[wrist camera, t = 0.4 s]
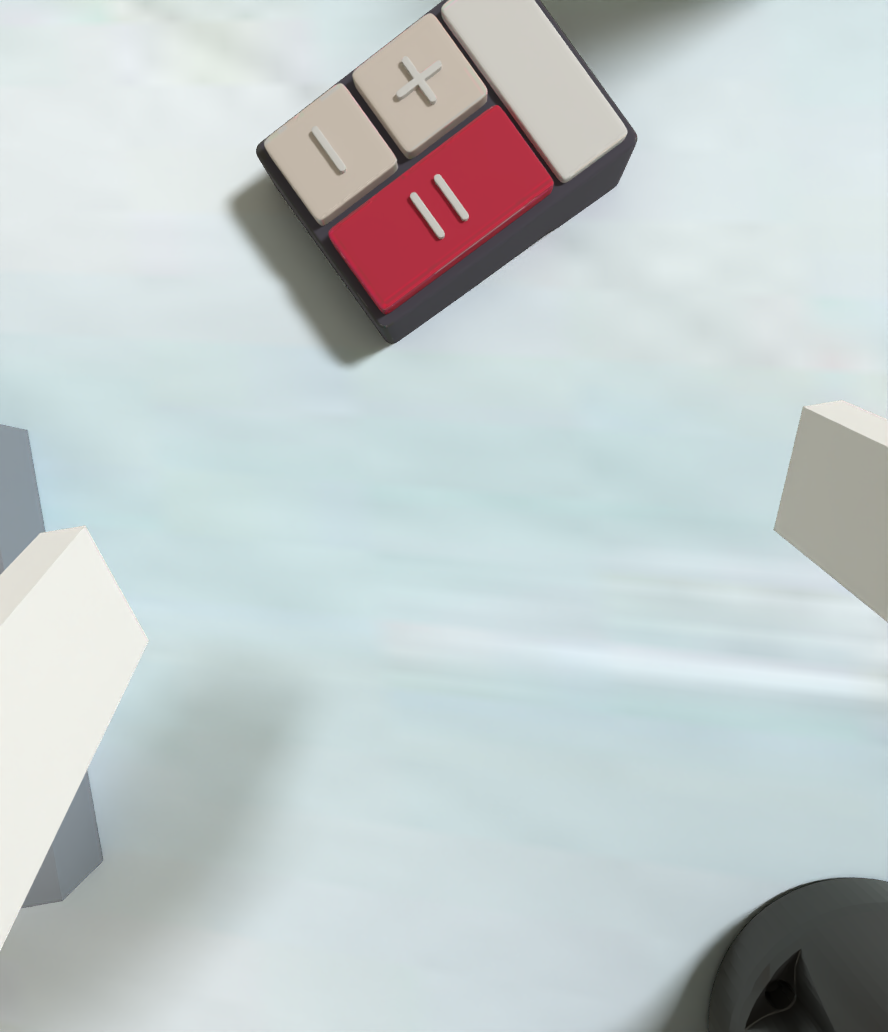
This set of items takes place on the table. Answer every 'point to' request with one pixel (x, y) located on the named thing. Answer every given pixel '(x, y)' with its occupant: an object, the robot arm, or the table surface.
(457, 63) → the calculator
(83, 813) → the key panel
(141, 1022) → the table surface
